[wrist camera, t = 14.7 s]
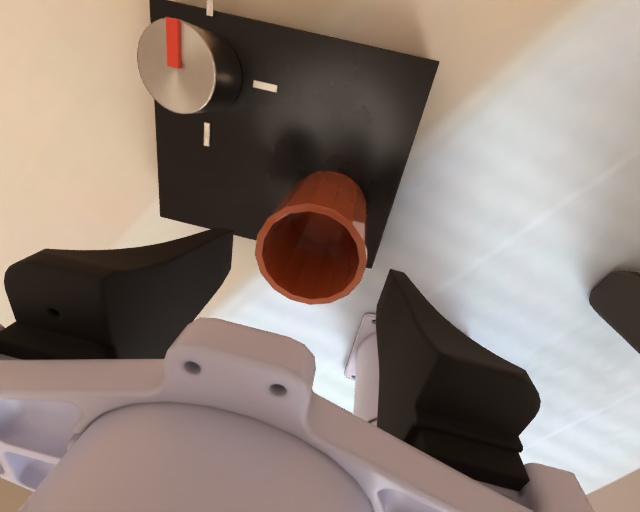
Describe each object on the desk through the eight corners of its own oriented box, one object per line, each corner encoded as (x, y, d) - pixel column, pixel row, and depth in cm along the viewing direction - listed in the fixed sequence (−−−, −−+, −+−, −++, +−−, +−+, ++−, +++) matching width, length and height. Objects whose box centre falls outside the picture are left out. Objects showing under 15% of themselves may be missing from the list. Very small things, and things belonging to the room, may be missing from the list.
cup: (376, 181, 20) (380, 220, 13) (355, 253, 22) (350, 314, 16) (295, 161, 20) (261, 192, 14) (283, 236, 22) (250, 289, 16)
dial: (239, 117, 19) (211, 122, 16) (176, 103, 19) (136, 105, 16) (244, 39, 17) (214, 25, 14) (175, 24, 17) (127, 7, 14)
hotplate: (438, 43, 18) (448, 35, 16) (371, 253, 25) (371, 270, 22) (164, -18, 18) (134, -35, 16) (171, 204, 25) (150, 215, 23)
